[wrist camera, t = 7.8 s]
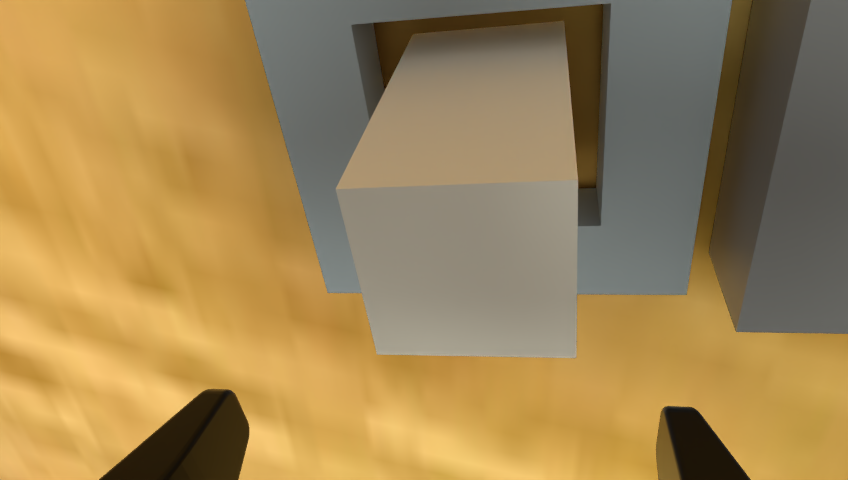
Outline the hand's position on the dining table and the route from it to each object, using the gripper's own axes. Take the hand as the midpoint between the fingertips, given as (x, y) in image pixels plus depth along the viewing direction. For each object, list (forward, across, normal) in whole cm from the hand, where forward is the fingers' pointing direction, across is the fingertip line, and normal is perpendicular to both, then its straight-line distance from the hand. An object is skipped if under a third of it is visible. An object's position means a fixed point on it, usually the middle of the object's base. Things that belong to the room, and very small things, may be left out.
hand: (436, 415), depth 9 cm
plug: (+11, 0, 0) cm, 11 cm away
